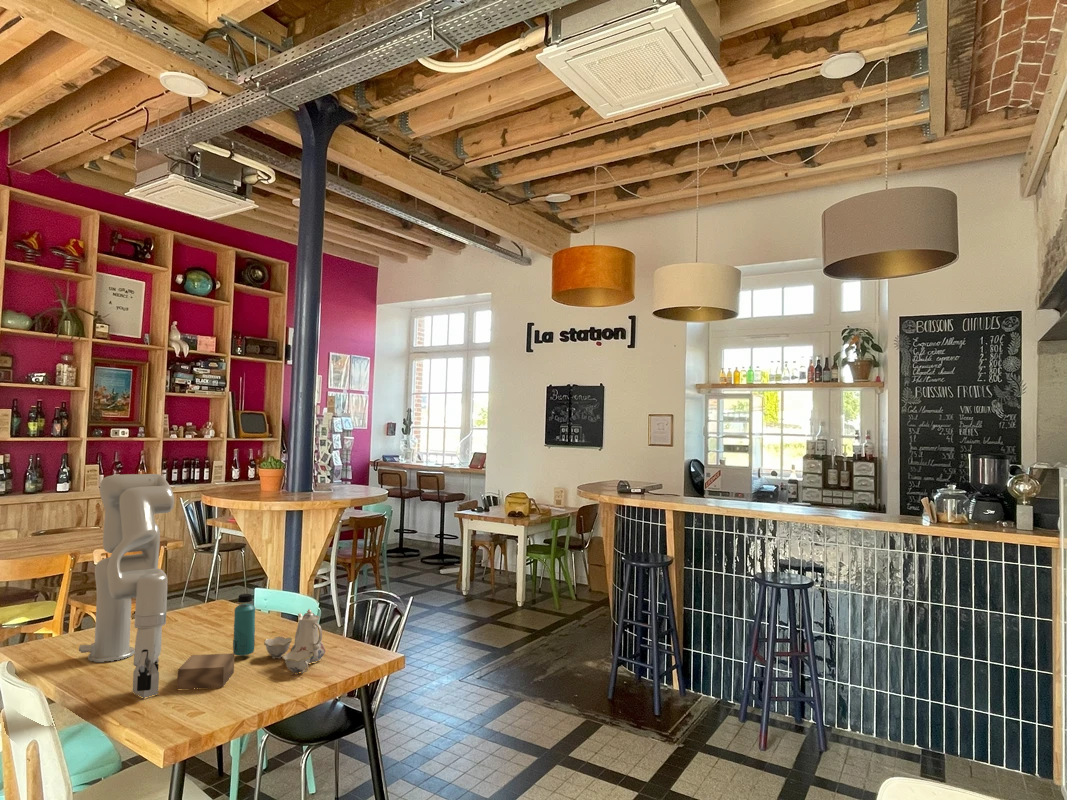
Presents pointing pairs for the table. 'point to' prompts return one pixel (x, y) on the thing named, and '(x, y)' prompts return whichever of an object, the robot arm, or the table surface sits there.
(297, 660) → the chinaware
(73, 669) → the table surface
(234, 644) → the beverage bottle
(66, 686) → the table surface
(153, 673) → the milk carton
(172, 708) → the table surface
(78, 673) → the table surface
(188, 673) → the brown wooden block
